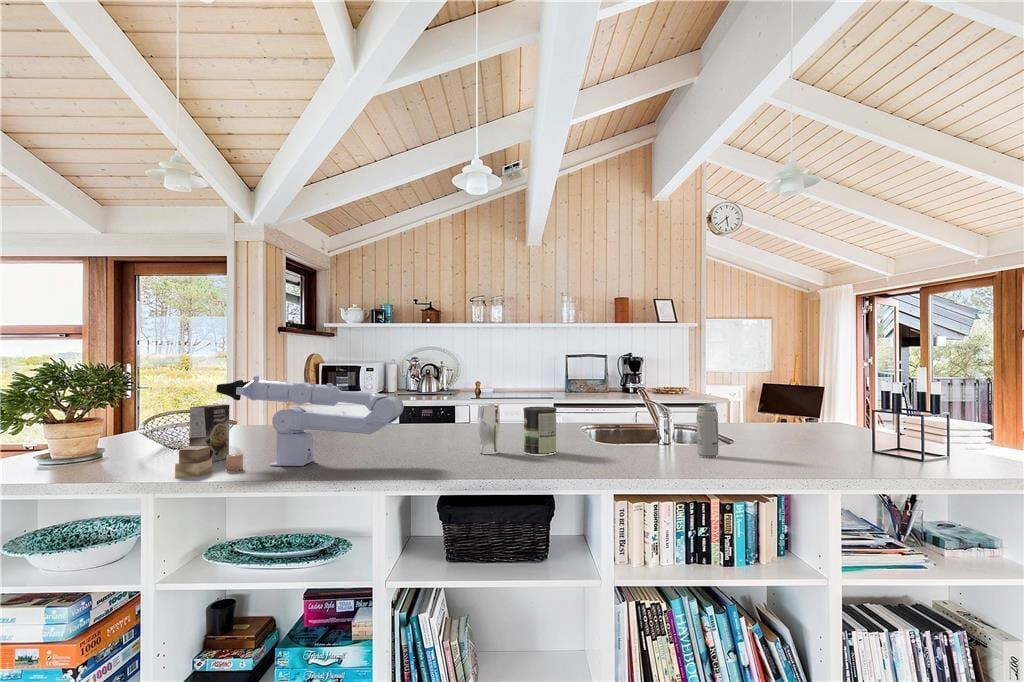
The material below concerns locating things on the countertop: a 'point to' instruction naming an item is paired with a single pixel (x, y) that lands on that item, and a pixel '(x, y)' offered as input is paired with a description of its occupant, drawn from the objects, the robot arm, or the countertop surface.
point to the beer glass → (488, 427)
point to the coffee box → (210, 429)
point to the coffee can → (539, 430)
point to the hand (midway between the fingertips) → (225, 387)
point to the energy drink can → (707, 431)
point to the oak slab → (193, 468)
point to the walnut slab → (194, 454)
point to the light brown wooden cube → (234, 462)
